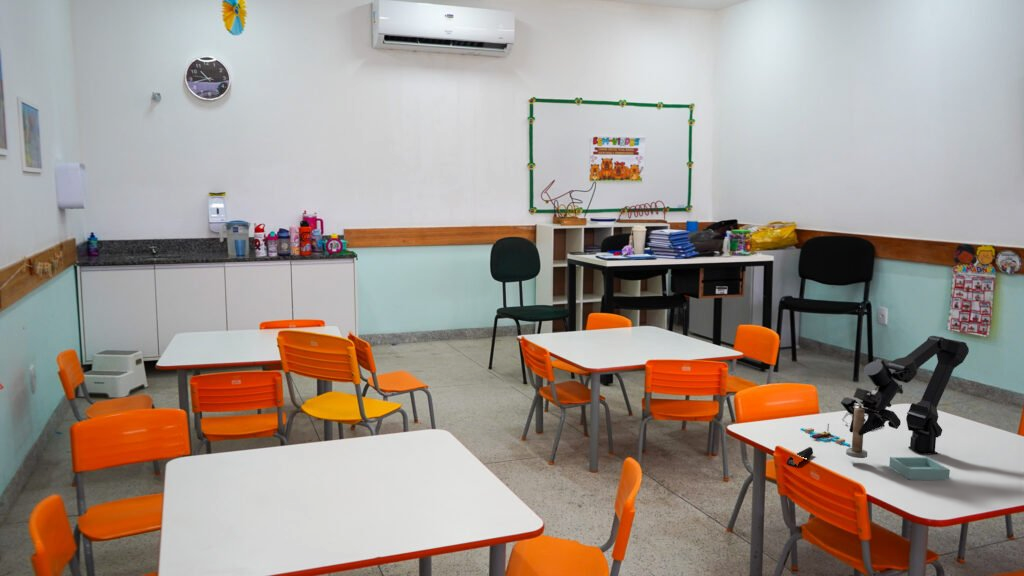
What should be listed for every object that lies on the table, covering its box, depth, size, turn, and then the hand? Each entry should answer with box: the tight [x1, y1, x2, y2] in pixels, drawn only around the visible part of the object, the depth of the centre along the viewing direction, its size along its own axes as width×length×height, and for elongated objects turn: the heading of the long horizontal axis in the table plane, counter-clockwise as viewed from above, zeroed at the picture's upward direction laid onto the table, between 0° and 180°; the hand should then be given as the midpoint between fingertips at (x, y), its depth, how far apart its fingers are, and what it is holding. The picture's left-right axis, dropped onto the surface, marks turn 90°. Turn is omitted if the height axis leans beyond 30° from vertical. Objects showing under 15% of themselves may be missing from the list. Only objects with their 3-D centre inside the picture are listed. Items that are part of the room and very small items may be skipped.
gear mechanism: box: [800, 422, 851, 447], centre depth 259 cm, size 20×5×9 cm
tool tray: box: [889, 456, 951, 481], centre depth 227 cm, size 12×11×3 cm
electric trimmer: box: [786, 446, 814, 468], centre depth 237 cm, size 4×15×3 cm, turn 137°
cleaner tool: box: [845, 408, 868, 459], centre depth 234 cm, size 6×6×15 cm
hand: (854, 433), depth 233 cm, fingers closed on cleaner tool, 3 cm apart
